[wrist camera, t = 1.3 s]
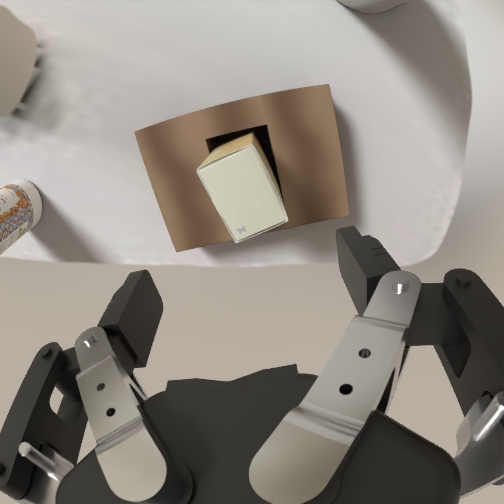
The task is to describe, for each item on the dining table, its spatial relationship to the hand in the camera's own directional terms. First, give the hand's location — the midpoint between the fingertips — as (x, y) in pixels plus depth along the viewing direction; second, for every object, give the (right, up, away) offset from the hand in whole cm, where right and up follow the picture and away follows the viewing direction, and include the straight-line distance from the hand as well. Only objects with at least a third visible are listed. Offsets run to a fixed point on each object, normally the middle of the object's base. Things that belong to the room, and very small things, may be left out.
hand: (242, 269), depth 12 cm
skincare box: (0, +10, +19) cm, 21 cm away
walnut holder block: (0, +10, +18) cm, 21 cm away
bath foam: (-30, +8, +20) cm, 37 cm away
